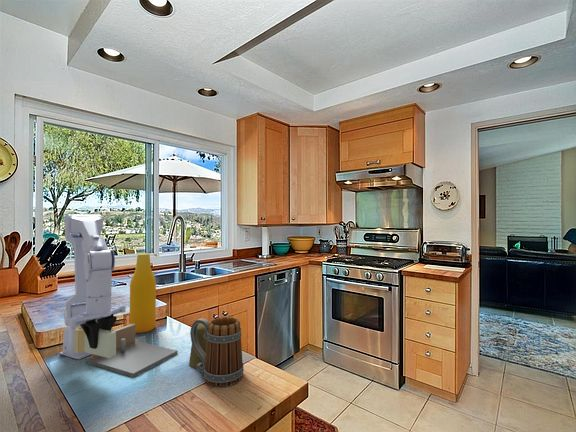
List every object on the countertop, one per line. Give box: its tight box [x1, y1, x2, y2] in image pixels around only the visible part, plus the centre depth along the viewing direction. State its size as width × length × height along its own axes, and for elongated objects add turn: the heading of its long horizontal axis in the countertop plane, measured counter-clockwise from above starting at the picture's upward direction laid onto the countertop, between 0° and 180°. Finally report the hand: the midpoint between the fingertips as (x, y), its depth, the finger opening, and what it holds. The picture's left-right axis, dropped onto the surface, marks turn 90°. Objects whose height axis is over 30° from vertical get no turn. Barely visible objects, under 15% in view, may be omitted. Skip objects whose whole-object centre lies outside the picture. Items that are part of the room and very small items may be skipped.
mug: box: [189, 316, 245, 388], centre depth 83 cm, size 16×11×15 cm
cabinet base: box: [85, 324, 178, 378], centre depth 93 cm, size 20×16×7 cm
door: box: [75, 327, 116, 358], centre depth 82 cm, size 14×4×6 cm, turn 65°
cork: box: [188, 324, 207, 369], centre depth 90 cm, size 6×6×11 cm
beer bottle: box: [128, 253, 157, 334], centre depth 118 cm, size 9×9×29 cm
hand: (98, 345), depth 82 cm, fingers closed on door, 2 cm apart
